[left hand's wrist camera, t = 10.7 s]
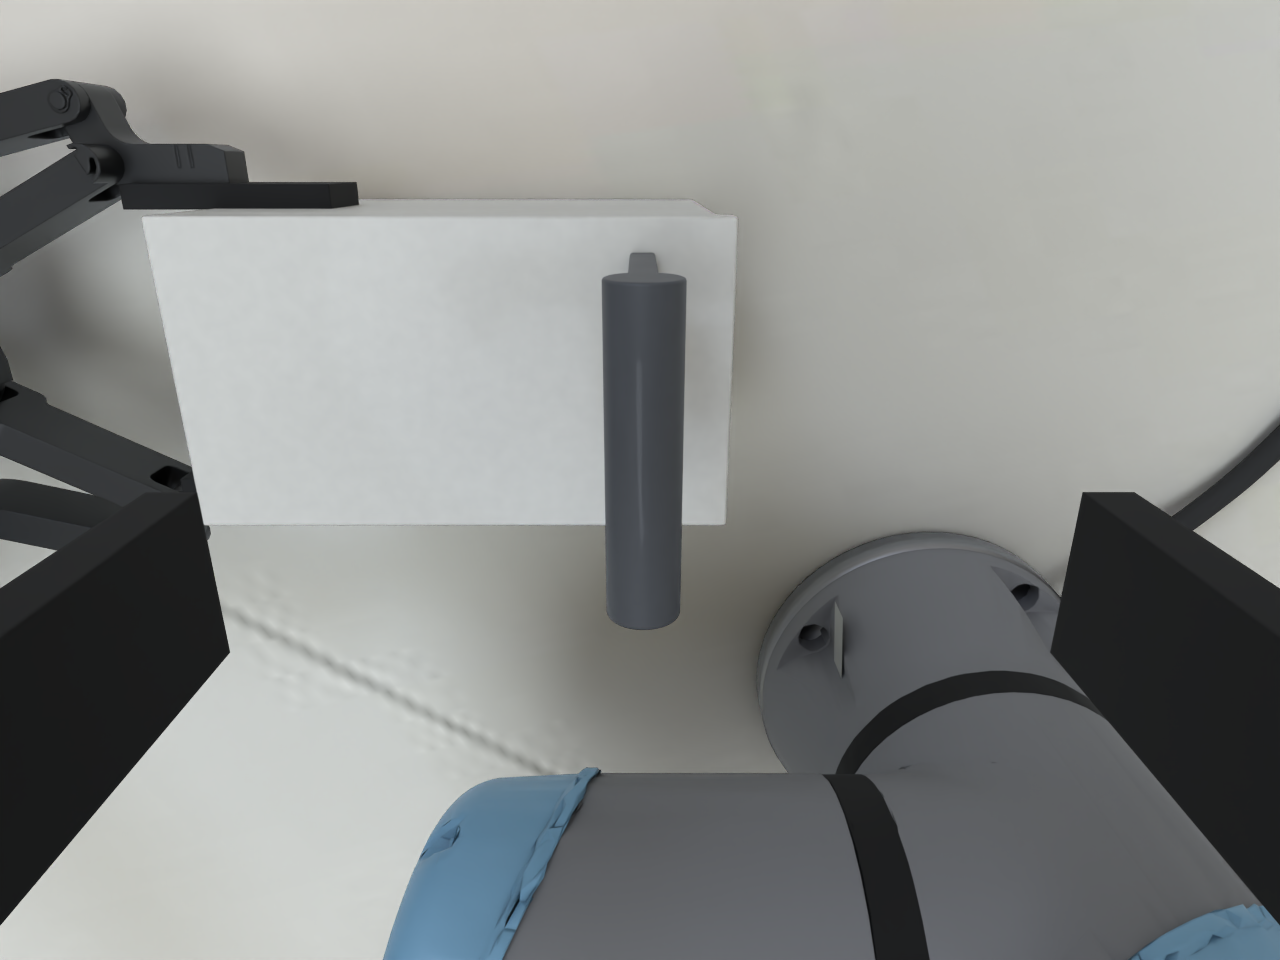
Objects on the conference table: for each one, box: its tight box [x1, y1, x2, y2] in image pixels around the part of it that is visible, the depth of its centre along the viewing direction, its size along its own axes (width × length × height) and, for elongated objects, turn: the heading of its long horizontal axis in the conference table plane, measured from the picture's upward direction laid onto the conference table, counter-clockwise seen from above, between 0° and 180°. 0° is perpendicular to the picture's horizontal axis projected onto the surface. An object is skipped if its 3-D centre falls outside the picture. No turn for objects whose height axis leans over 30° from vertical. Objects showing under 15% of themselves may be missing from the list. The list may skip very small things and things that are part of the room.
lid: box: [141, 214, 739, 630], centre depth 21 cm, size 16×9×8 cm, turn 90°
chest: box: [167, 199, 716, 215], centre depth 30 cm, size 16×9×11 cm, turn 90°
